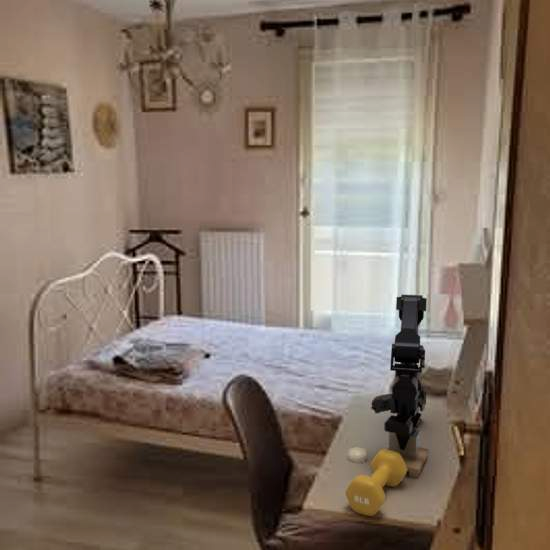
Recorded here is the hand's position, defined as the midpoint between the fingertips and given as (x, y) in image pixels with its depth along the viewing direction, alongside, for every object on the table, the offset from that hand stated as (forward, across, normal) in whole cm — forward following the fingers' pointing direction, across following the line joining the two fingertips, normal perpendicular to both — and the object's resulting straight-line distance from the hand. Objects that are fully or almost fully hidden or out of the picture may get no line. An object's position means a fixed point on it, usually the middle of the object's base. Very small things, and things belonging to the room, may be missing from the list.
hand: (404, 445), depth 156 cm
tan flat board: (+5, 0, 0) cm, 5 cm away
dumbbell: (+6, +18, -2) cm, 19 cm away
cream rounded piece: (+5, +2, -12) cm, 13 cm away
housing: (+1, 0, 0) cm, 1 cm away
